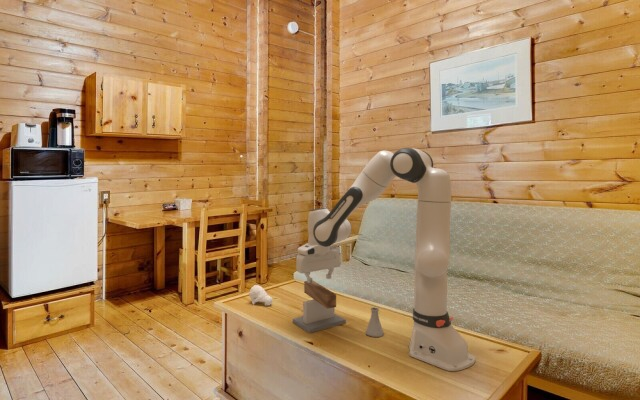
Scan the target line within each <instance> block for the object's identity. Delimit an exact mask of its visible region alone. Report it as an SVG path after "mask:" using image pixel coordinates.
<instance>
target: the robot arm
mask: <svg viewBox="0 0 640 400" xmlns="http://www.w3.org/2000/svg"><path fill="white" fill-rule="evenodd" d="M397 177H398V178H399V179H401V180H403V181H407V182H410V183H413V184H416V185H417V190H418V191H417V210H416V229H415V230H416V231H415V232H416V233H415V250H414V251H415V252H414V298H413V308H412V320H413V322H412V323H413V325H412V331H411V332H412V333H411V338H410V342H409V345H408V349H409V354H408V355H409V357H412V358H414V359H416V360H420V361H422V362H425V363H427V364H430V365H432V366H434V367H438V368H440V369H443V370H444V371H448V372H457V371H462V370H464V369H467V368H469V367H471V366H473V365H474V364H475V362H476V357H475V356H474V355H473V354H471V353H469V350H468V344H467V341H466V339H464V338H463V337H462V335H461V334H460V333H459V332H458V331H457V330H456V328H455V326H453V325H452V322H451V321H454V316H451V317H450V315H449V312H448V268H449V265H450V257H451V256H450V254H451V252H450V251H451V249H450V247H451V246H450V245H451V244H450V243H451V215H452V214H451V211H452V184H451V183H452V182H451V178H450V175H449V173H448V171H446V170H444V169H443V168H437V167H434V161H433V159H432V157H431V155H430V154H429V153H428V152H426V151H424V150H421V149H419V148H415V147H413V148H412V147H404V148H400V149H398V150H397V151H396V152H392V151H390V150H380V151H378V152H377V153H376V154H375V155H374V156H373V157H372V158H371V159H370V160H369V161H368V162H367V163H366V165H365V166H364V168H363V169H362V171H361V172H360V173H359V174H358V176H357V178H356V179H355V180H354V182H353V183H352V185H350V187H349V188H348V190H347V191H346V193H345V194H344V195H342V197H341V198H340V199H339V200H338V201H337V203H336V204H335V205H334V206H333V208H332V209H331V210H329V208H327V207H321V208H320V207H319V208H315V209H312V210H310V211H309V213H308V216H307V218H308V219H307V231H308V239H307V240H308V241H307V242H306V243H305V244H303V245H301V246H299V247H297V253H298V254H297V256H296V261H295V268H296V269H295V270H296V272H298V273H299V274H302V275H303V274H304V276H305V277H306V281H307V282H308V283H311V282H312V280H313V278H312V277H311V276H310V275H311V273H313V272H319V271H323V270H328V272H327V273H326V274H325V277H326V280H331V279H332V274H333V272H334V269H335V268H339V267H341V265H342V263H341V262H342V260H341V254H340V250H341V249H340V247H339V246H338V245H337V244H336V243H339V242H342V241H344V240H346V239H348V238H349V237H350V236H351V234H352V230H353V227H352V224H351V221H350V220H348V218H349V217H350V215H351V214H353V212H355V210H356V209H358V208H360V207H361V206H363V205H365V204H368V203H369V202H373V201H375V200H376V199H377V198H378V197H380V196H381V195H382V194H383V192H384V191H386V189H387V187H388V186H390V183H391V182H392V181H393V180H394V179H395V178H397Z"/></svg>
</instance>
